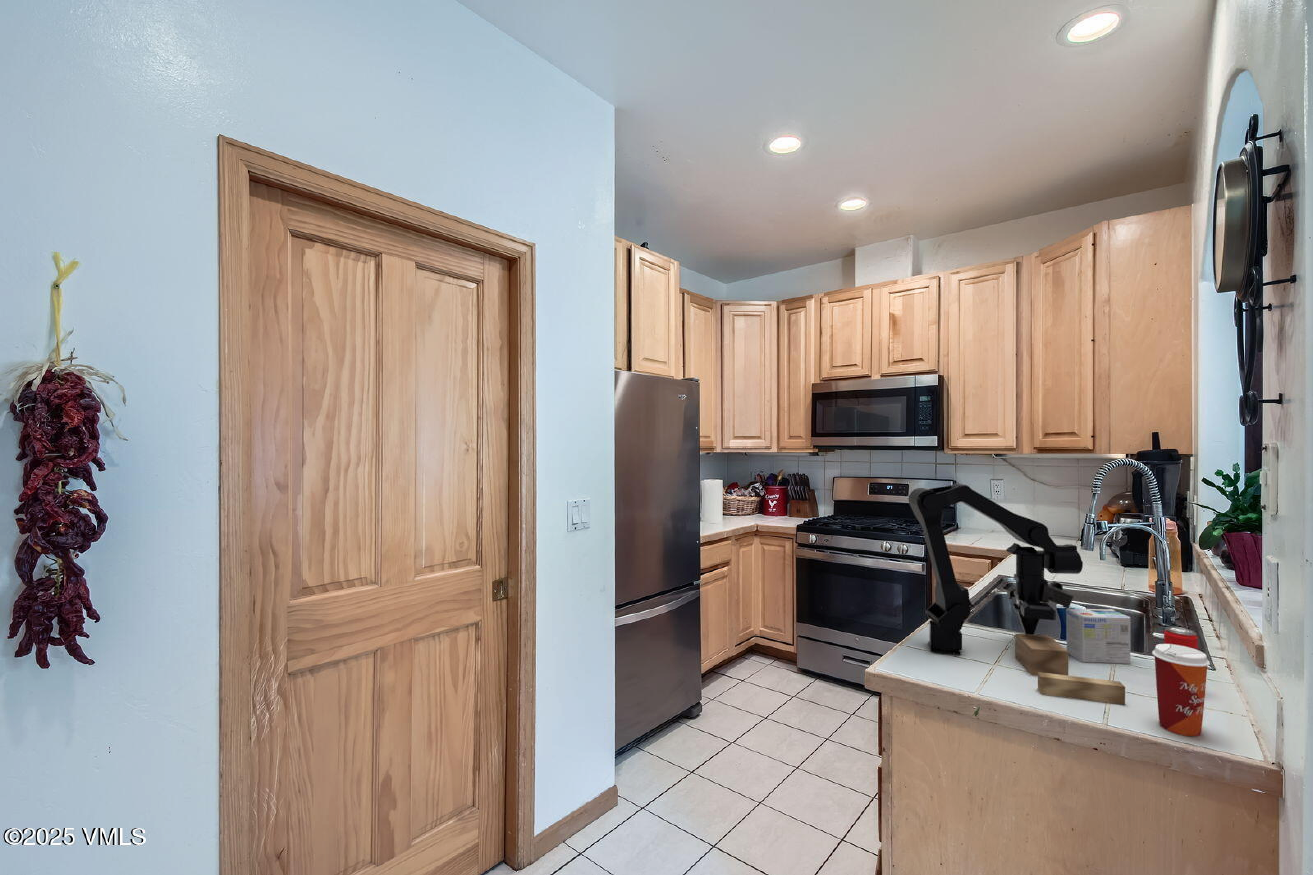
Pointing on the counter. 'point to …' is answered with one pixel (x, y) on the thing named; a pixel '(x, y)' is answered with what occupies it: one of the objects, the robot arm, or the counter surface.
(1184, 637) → the beverage can
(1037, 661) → the walnut block
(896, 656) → the counter surface
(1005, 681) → the counter surface
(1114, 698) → the oak board
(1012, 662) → the counter surface
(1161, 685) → the paper cup
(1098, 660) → the light bulb box
